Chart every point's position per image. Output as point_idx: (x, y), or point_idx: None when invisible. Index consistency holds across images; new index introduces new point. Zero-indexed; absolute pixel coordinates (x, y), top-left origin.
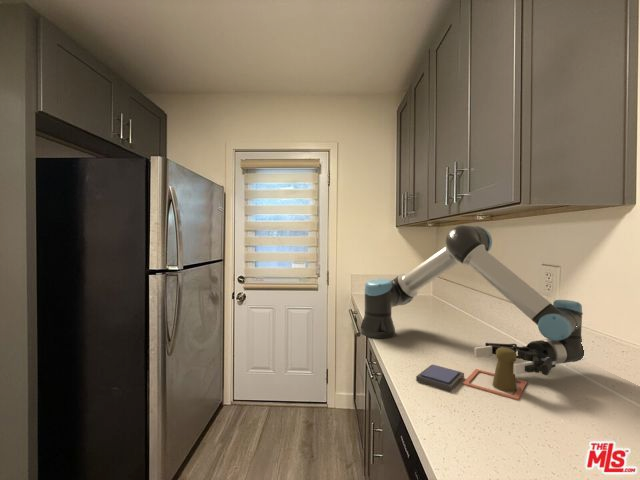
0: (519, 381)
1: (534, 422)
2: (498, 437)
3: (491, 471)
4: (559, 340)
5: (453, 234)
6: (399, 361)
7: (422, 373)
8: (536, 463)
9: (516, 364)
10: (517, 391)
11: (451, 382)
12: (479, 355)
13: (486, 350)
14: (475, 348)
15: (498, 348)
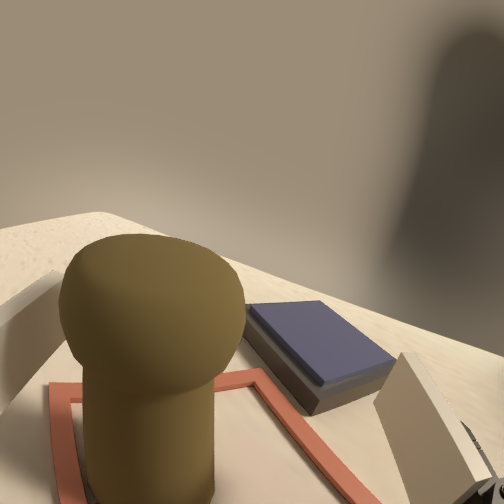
0: None
1: (2, 301)
2: (64, 249)
3: (61, 218)
4: None
5: None
6: (442, 352)
7: (325, 305)
8: (15, 233)
9: (50, 274)
10: (70, 449)
11: (256, 320)
12: (386, 417)
13: (427, 446)
14: (406, 354)
15: (220, 257)
